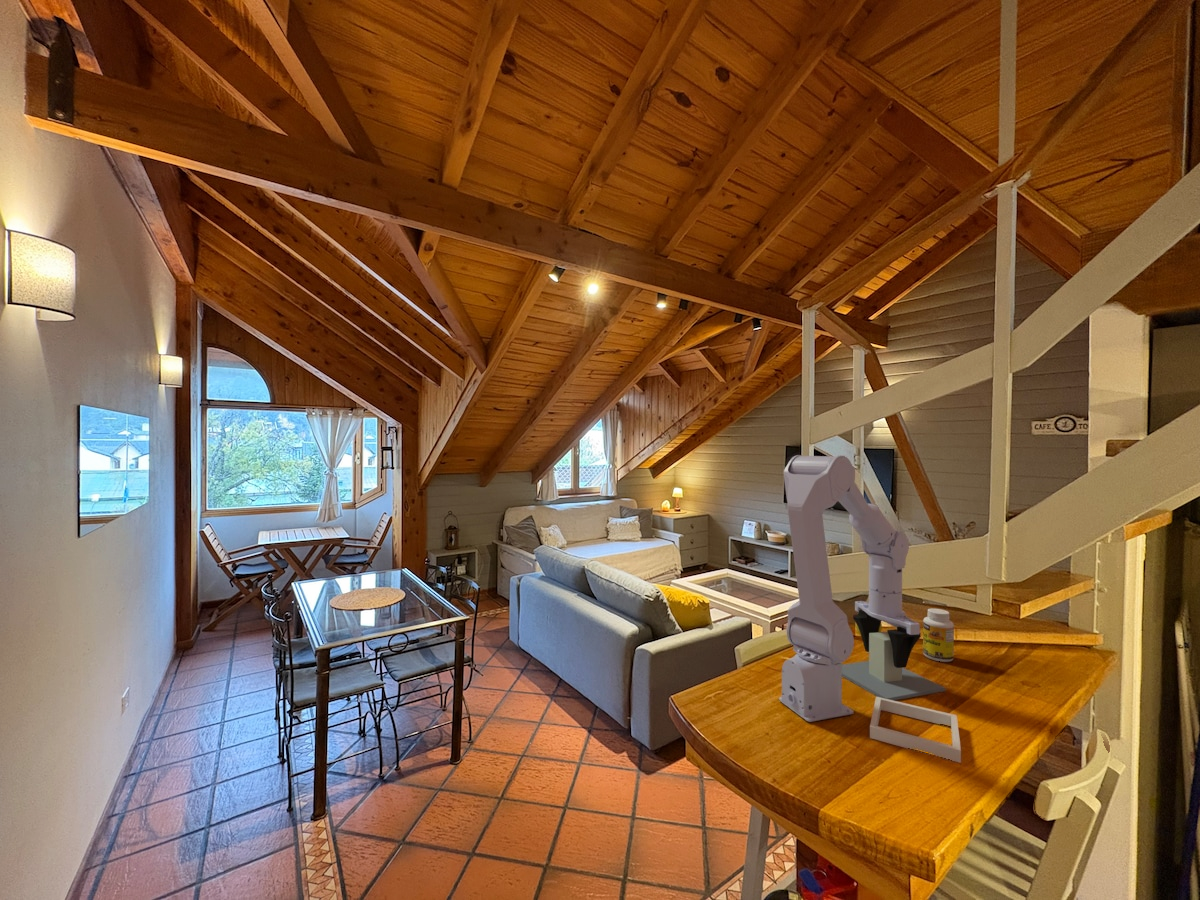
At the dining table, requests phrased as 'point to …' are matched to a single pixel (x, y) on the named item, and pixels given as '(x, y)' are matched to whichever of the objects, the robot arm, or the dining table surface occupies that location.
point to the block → (882, 658)
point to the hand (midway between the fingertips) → (884, 658)
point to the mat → (890, 690)
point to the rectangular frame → (910, 740)
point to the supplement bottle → (938, 636)
